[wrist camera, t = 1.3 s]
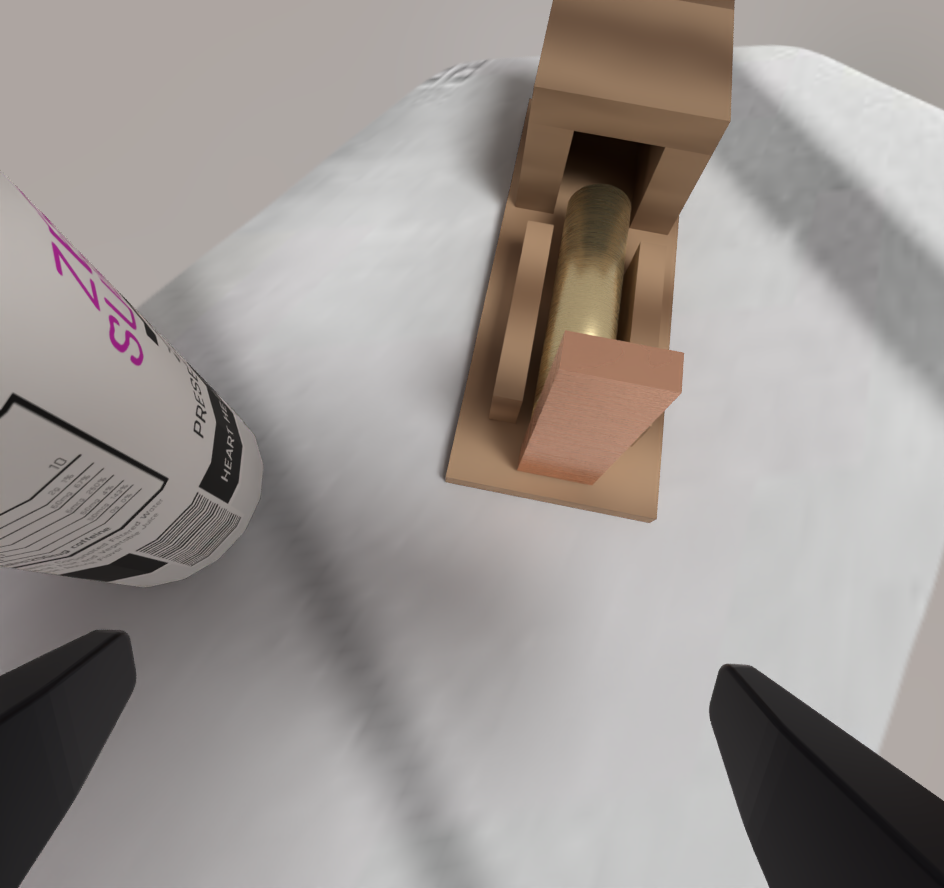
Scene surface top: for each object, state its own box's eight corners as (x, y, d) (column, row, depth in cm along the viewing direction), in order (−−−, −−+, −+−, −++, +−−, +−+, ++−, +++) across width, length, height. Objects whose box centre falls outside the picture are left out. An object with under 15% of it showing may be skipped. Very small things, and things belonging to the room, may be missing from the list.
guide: (649, 522, 23) (735, 476, 16) (445, 481, 23) (444, 418, 16) (679, 138, 30) (745, -3, 24) (527, 111, 31) (549, -36, 24)
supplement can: (28, 553, 21) (-810, 393, 7) (133, 379, 24) (-319, 16, 10) (213, 616, 21) (-293, 580, 7) (299, 431, 23) (72, 126, 9)
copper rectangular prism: (592, 485, 22) (681, 392, 13) (516, 470, 22) (559, 369, 14) (621, 237, 26) (702, 51, 18) (559, 226, 27) (610, 35, 18)
